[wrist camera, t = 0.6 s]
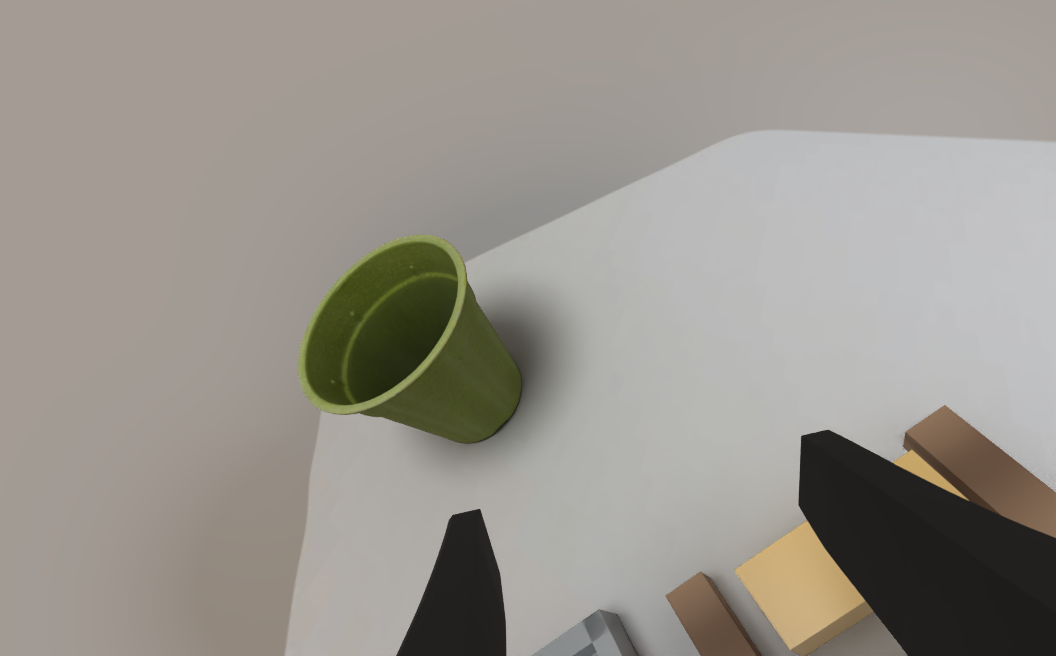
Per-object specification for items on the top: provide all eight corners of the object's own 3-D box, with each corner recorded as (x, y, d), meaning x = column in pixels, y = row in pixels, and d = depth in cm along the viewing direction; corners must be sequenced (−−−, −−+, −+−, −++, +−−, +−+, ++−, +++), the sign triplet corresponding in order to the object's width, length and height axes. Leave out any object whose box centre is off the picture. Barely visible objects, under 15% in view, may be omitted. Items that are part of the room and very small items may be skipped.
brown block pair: (1079, 536, 21) (1096, 524, 20) (760, 739, 22) (753, 743, 21) (940, 421, 25) (944, 404, 24) (676, 600, 26) (665, 595, 25)
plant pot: (576, 428, 34) (483, 344, 26) (424, 504, 36) (293, 451, 28) (530, 298, 41) (446, 200, 33) (406, 368, 44) (299, 295, 36)
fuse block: (965, 552, 22) (990, 519, 18) (804, 656, 23) (790, 650, 19) (903, 492, 24) (911, 449, 20) (756, 590, 25) (733, 570, 21)
